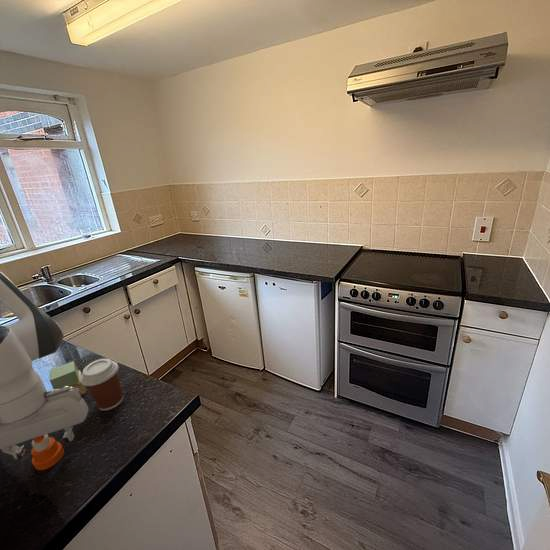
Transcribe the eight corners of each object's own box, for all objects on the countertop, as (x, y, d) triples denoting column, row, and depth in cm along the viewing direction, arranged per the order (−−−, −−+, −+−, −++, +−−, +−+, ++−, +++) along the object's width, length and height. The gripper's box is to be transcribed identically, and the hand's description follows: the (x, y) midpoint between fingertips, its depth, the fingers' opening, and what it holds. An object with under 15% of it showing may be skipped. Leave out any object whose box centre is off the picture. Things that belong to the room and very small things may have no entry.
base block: (58, 404, 84) (52, 393, 83) (58, 391, 89) (53, 380, 88) (86, 392, 88) (81, 382, 86) (84, 380, 93) (80, 370, 92)
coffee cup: (121, 411, 79) (107, 375, 75) (86, 416, 79) (70, 380, 74) (133, 387, 87) (121, 353, 83) (102, 392, 87) (88, 358, 83)
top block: (54, 392, 83) (49, 380, 82) (55, 380, 88) (49, 369, 86) (79, 381, 86) (74, 370, 85) (78, 371, 91) (73, 360, 89)
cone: (30, 474, 65) (16, 450, 62) (40, 452, 70) (27, 430, 67) (60, 464, 66) (47, 440, 64) (67, 443, 71) (56, 421, 69)
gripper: (79, 374, 68) (99, 420, 73) (-31, 406, 62) (-1, 453, 67) (72, 393, 62) (94, 441, 67) (-50, 429, 56) (-16, 479, 61)
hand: (46, 447), depth 67 cm, fingers open, 8 cm apart
